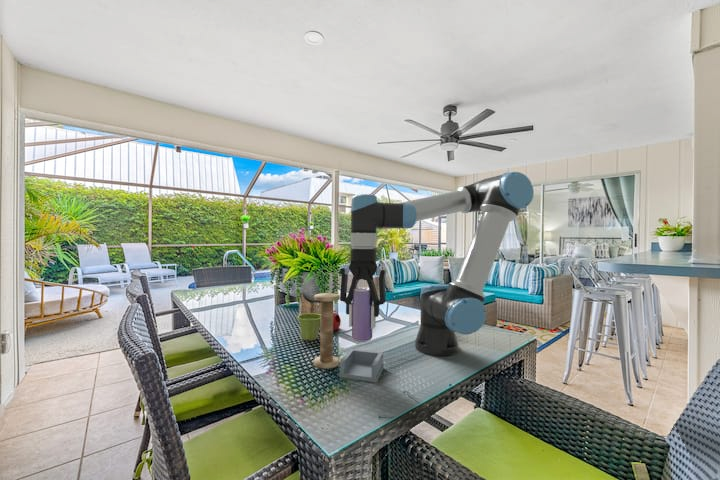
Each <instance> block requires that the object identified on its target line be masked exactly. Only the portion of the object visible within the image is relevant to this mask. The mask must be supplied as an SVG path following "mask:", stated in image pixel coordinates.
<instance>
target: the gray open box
mask: <svg viewBox="0 0 720 480" xmlns="http://www.w3.org/2000/svg"><path fill="white" fill-rule="evenodd" d="M339 368H340V369H339V372H338V377H339V378H342V379H349V380H356V381H362V382H370V383H378V381H379V379H380V376H381V375H382V372H383V370H384V369H385V363H384V352H382V351H374V350H363V349H357V348H350V349H349V350H348V351H347V352H346V354H345V355H344V356H343V357H342V358H341V359H340V360H339Z"/></svg>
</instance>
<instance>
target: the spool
mask: <svg viewBox="0 0 720 480" xmlns="http://www.w3.org/2000/svg"><path fill="white" fill-rule="evenodd" d="M313 299H314V300H315V301H317V302H320V315H321V316H320V327H319V330H320V332H319V333H320V335H319V336H320V339H319V340H320V341H319V343H320V344H319V349H320V351H319V356H317V357H315V358H313V365H314V367H316V368H317V369H320V370H321V369H323V370H328V369H329V370H330V369H333V368H334V369H335V368H336V367H338V366H340V358H339V357H338V356H335V355H334V331H333V313H334V312H333V311H334V302H336V301H339V300H340V294H338V293H334V292H333V293H332V292H325V293H324V292H323V293H317V294H314V296H313Z"/></svg>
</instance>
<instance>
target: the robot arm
mask: <svg viewBox="0 0 720 480" xmlns="http://www.w3.org/2000/svg"><path fill="white" fill-rule="evenodd" d="M534 196H535V194H534V186H533V185H532V182H531V180H530V178H529V177H528V176H527V175H526V174H524V173H522V172H519V171H510V172H504V173H502V174H499V175H495V176H492V177H487V178H483V179H482V180H479V181H476V182H474V183H471V184H469V185H464V186H461V187H458V188H457V189H456V190H455V191H450V192H445V193H441V194H436V195H431V196H426V197H421V198H417V199H412V200H407V201H403V202H396V203H394V202H381V201H378V197H377V195H374V194H370V193H369V194H367V193H365V194H364V193H363V194H362V193H361V194H359V193H358V194H355V195H353V196H352V198H351V203H350V204H351V205H350V247H352V248H351V249H350V256H349V257H350V262H349V265H348V266H347V267H346V266H345V267H341V268H340V269H339V272H340V274H341V279H340V291H339V293H340V294H339V295H340V299H339V300H340V302H343V303H345V313H346V315H348V327H350V328H352V299H353V290H354V289H355V288H356V287H358V283H359V281H360V280H363V281H366V283H367V285H368V286H367V287H369V289H370V293H371V296H372V300H373V305H372V306H371V329H372V330H374V329H375V328H376V318H378V317H379V315H380V305H384V304H385V303H386V300H387V299H386V298H387V297H386V282H385V281H386V279H385V278H386V274H387V269H386V268H383V269H382V268H379V267H378V265H377V249H376V247H377V234H378V233H377V230H387V229H403V230H404V229H412V228H414V226H415V225H416V223H417V222H420V221H424V220H429V219H432V218H438V217H441V216H447V215H451V214H455V213H463V214H468V213H475V212H481V213H482V215H481V216H480V220H479V222H478V224H477V226H476V229H475V231H474V234H473V236H472V239H471V241H470V244H469V246H468V248H467V251H466V254H465V257H464V259H463V261H462V264H461V266H460V269H459V271H458V275H457V276H456V279H455V280H453V281H451V282H449V283H448V284H424V285H423V286H421V288H420V326H419V328H418V331H417V335H416V338H415V342H414V343H415V345H414V346H415V349H416V350H418V351H419V352H421V353H424V354H425V355H426V354H427V355H430V356H438V357H439V356H440V357H441V356H442V357H446V356H453V355H456V354H457V353H458V352H459V342H458V338H457V335H456V333H457V334H460V335H463V336H465V335H466V336H467V335H472V334H474V333H476V332H478V331H479V330H480V329H481V328H482V327H483V325H484V324H485V322H486V319H487V311H486V306H485V305H484V302H485V300H486V295H485V293H484V291H483V290H484V288H485V287H486V286H485V285H486V283H487V281H488V278H489V275H490V272H491V270H492V268H493V265H494V263H495V260H496V257H497V254H498V252H499V249H500V247H501V245H502V242H503V241H504V240H503V239H504V236H505V234H506V232H507V229H508V228H509V224H510V222H512V221H514V220H515V221H516V219H517V218H518V216H519V213H520V211H521V210H522V209H525V208H527V207H528V206H529V205H530V204H531V203H532V201H533V199H534ZM350 272H351V274H352V278H351V283H350V287H349V290H348V280H349V273H350ZM376 272H377V276H378V285H379V286H378V287H379V289H378V291H379V294H378V292H377V289H376V284H375V280H374V275H375V274H376ZM347 293H348V294H347ZM378 295H379V296H378Z"/></svg>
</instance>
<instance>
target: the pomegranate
mask: <svg viewBox="0 0 720 480" xmlns="http://www.w3.org/2000/svg"><path fill="white" fill-rule="evenodd" d="M341 319H342V318H341V317H340V315H339V314H338V313H337V310H333V332H334V331H337V330H338V329H339V328H340V327H341V322H342V321H341ZM319 328H320V325H319Z"/></svg>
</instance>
